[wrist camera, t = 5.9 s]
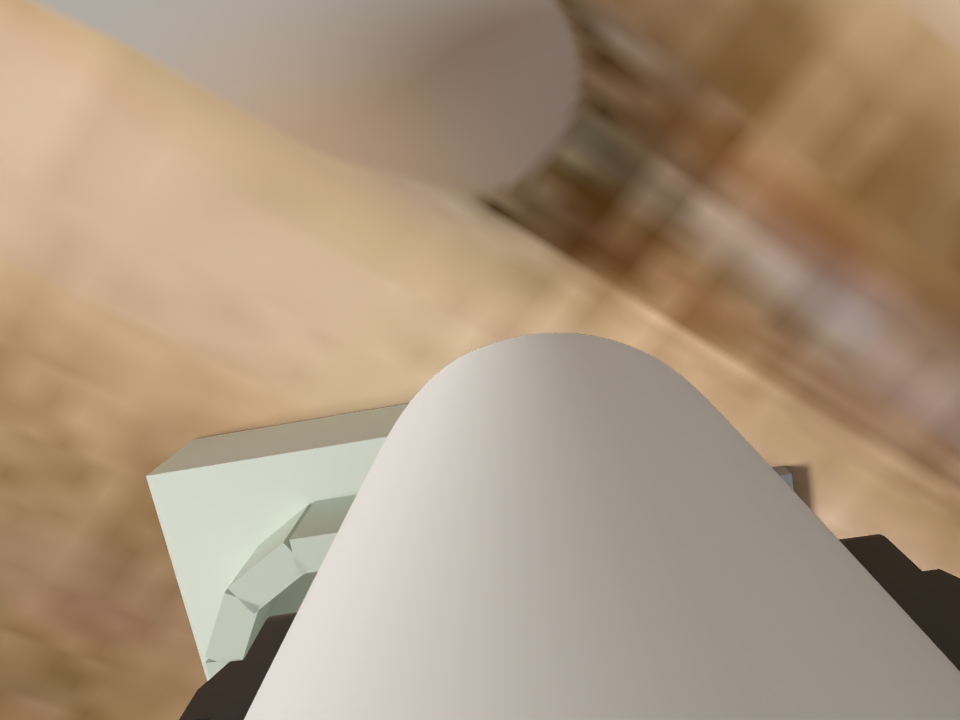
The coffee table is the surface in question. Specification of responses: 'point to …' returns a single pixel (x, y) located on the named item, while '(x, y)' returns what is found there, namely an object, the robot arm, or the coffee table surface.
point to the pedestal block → (259, 519)
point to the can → (590, 566)
